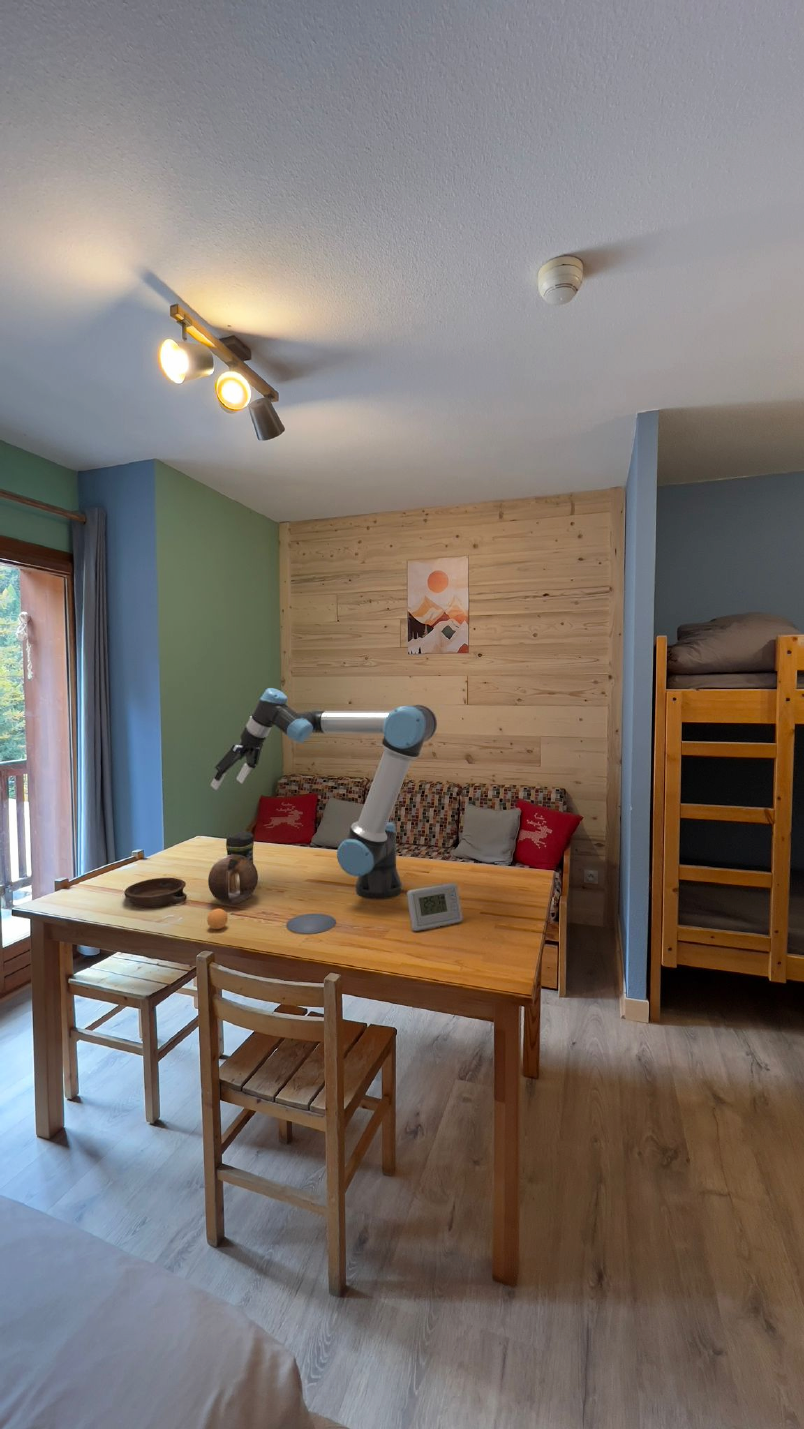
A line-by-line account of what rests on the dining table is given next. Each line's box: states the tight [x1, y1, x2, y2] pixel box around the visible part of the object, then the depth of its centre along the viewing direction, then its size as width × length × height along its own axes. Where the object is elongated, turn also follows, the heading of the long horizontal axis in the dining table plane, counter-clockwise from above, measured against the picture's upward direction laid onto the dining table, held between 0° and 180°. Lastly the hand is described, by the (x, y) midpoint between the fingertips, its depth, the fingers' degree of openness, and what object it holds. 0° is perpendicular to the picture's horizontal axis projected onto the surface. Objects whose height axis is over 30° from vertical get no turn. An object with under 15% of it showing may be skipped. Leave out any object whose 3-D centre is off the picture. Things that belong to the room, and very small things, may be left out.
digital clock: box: [406, 882, 463, 932], centre depth 169 cm, size 16×9×11 cm, turn 103°
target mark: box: [285, 913, 337, 935], centre depth 170 cm, size 14×14×1 cm
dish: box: [124, 877, 188, 909], centre depth 189 cm, size 18×22×5 cm
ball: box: [206, 908, 229, 930], centre depth 167 cm, size 6×6×6 cm
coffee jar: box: [225, 830, 255, 864], centre depth 200 cm, size 10×8×19 cm
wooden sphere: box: [207, 854, 259, 905], centre depth 187 cm, size 15×15×15 cm
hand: (227, 784), depth 198 cm, fingers open, 13 cm apart
